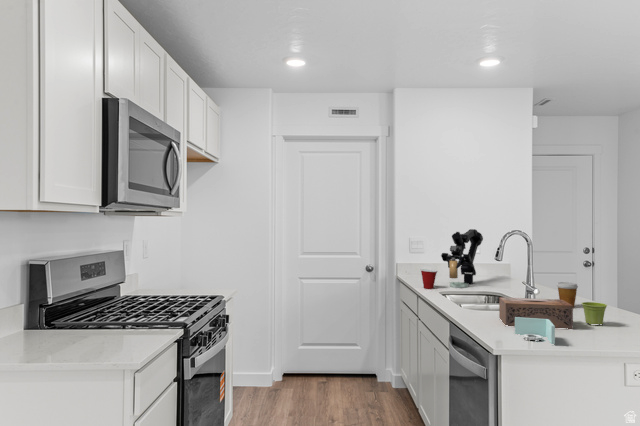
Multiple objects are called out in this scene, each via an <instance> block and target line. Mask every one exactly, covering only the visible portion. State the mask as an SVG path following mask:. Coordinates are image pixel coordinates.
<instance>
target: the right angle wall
mask: <svg viewBox="0 0 640 426" xmlns="http://www.w3.org/2000/svg"><path fill="white" fill-rule="evenodd" d="M515 334H520V335H523V336H522V338H523V337H524V338H525V339H527V340H526V341H528V340H537V342H540V341H539V340H542V341H543V340H544V338H543V337H547V338H548V339H547V338H546V339H547V341H548V340H549V341H550V342H549V341H548V342H549V344H550V343H551V344H555V343H556V338H555V337H556V329H555V326H554V325H553V323H552V322H551V321H550V320H549V319H537V318H521V317H515V327H514V335H515ZM542 336H543V337H542ZM524 338H523V339H524ZM551 344H550V345H551ZM555 345H556V344H555Z"/></svg>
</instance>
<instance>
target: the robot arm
mask: <svg viewBox="0 0 640 426" xmlns="http://www.w3.org/2000/svg"><path fill="white" fill-rule="evenodd" d="M451 238H452V241H453V243H454V245H450V248H449V251H450V254H449V252H443V253H441V255H440V257H441V259H442V261H443V262H447V266H448V269H449V261H450V260H452V257H454V258H455V260H457V261H458V264H457V266H456V268H459V269H460V274H461V276H463V283H467V284H468V285H475V284H476V282H474V276H476V275H477V272H476V268H475V265H474V261H475V257H476V254H477V250H478V247H479V246H480V245H481V244H482V243H483V240H484V237H483V234H482V233H481V232H479V231H478V230H477V229H472V228H471V229H468V230H467V231H466V232H464V233H461V232H460V231H456V232H455V233H453V234H452V235H451ZM469 242H470V245H469V249H468V252H467V253H464V251H465V250H466V244H468V243H469Z"/></svg>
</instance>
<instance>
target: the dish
mask: <svg viewBox="0 0 640 426" xmlns="http://www.w3.org/2000/svg"><path fill="white" fill-rule="evenodd" d="M449 286H450V288H455V289H456V288H457V289H465V288H468V287H469V284H467V283H464V281H463V282H460V281H452V282H449Z"/></svg>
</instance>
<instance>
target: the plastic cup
mask: <svg viewBox="0 0 640 426" xmlns="http://www.w3.org/2000/svg"><path fill="white" fill-rule="evenodd" d="M420 273H421V278H422V284H423V288H425V289H424V290H433V289H434V286H435V281H436V276H437V273H438V270H435V269H434V270H433V269H427V268H426V269H422V268H421V269H420Z"/></svg>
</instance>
